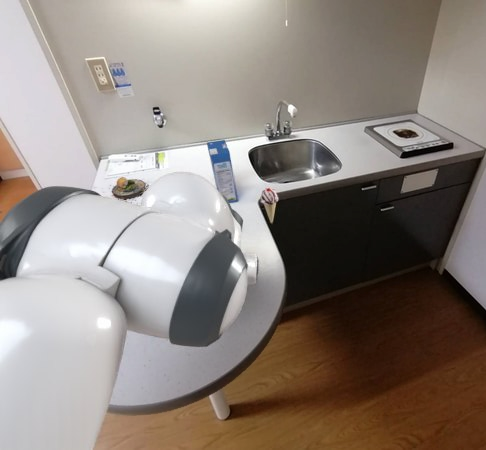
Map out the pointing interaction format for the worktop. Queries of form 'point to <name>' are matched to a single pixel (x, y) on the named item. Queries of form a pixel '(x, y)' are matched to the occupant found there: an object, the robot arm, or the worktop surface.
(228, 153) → the milk carton
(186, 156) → the worktop surface
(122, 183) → the garnished food dish
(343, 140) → the worktop surface
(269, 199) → the ice cream cone
